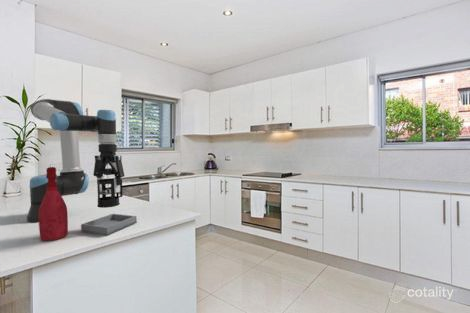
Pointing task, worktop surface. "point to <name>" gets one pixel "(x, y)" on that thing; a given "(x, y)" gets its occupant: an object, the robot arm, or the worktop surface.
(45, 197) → the wine bottle
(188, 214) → the worktop surface
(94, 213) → the worktop surface
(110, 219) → the tray
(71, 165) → the robot arm
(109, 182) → the french press
